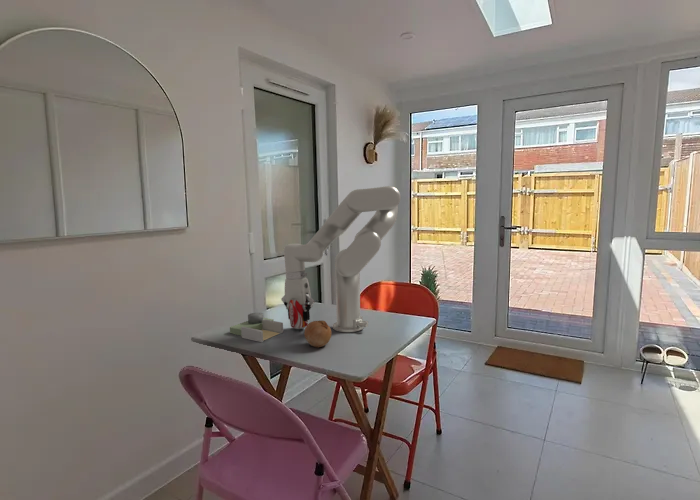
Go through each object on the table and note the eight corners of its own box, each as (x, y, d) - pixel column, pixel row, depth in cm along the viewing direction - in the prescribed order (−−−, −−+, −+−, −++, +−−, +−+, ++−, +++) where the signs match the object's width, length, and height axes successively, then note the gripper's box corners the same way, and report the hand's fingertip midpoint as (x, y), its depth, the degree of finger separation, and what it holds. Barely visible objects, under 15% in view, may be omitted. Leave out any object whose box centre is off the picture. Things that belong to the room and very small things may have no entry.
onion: (329, 352, 138) (341, 328, 137) (311, 353, 131) (324, 328, 130) (312, 337, 144) (324, 314, 143) (294, 338, 137) (306, 313, 135)
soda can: (305, 330, 151) (302, 299, 150) (287, 329, 153) (285, 299, 151) (310, 324, 158) (308, 295, 157) (294, 324, 159) (291, 295, 158)
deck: (292, 328, 156) (291, 315, 156) (261, 342, 141) (260, 327, 141) (259, 322, 166) (259, 309, 165) (227, 334, 151) (226, 320, 150)
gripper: (319, 274, 151) (322, 319, 153) (285, 272, 160) (288, 314, 163) (307, 278, 145) (310, 324, 147) (272, 276, 154) (276, 319, 156)
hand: (299, 319), depth 155 cm, fingers closed on soda can, 6 cm apart
